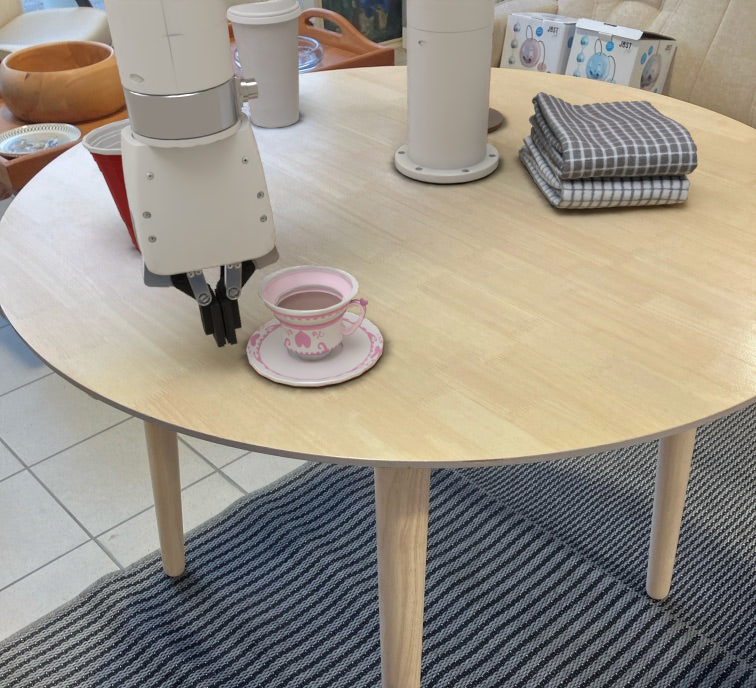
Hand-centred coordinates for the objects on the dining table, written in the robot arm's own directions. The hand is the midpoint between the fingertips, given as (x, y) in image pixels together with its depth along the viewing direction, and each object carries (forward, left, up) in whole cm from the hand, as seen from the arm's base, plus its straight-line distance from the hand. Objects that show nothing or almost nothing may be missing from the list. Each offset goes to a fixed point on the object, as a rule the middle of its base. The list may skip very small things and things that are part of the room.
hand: (224, 337), depth 71 cm
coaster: (-45, +43, -3) cm, 62 cm away
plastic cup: (-26, -1, -3) cm, 26 cm away
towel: (-21, +49, -3) cm, 53 cm away
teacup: (0, +8, -3) cm, 8 cm away
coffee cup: (-57, +20, -3) cm, 60 cm away
